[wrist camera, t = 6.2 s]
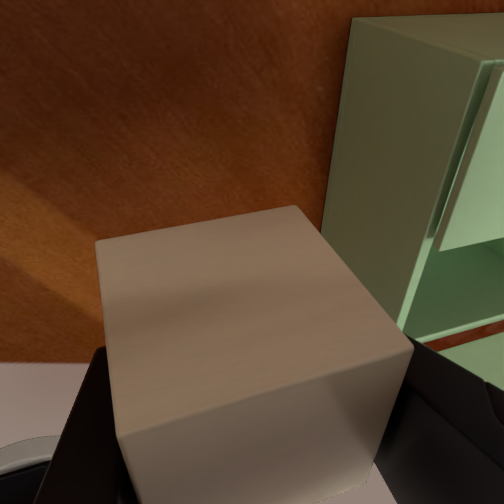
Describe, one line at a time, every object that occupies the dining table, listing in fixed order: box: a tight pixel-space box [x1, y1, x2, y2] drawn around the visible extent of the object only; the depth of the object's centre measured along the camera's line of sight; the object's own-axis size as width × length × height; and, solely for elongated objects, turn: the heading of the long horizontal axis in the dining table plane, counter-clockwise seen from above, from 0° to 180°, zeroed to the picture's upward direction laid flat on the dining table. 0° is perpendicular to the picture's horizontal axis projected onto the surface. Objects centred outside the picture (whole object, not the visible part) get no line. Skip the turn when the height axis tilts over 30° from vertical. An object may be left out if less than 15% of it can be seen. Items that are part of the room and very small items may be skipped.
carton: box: [321, 13, 504, 343], centre depth 21 cm, size 13×11×8 cm
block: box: [95, 205, 414, 504], centre depth 8 cm, size 4×4×4 cm
